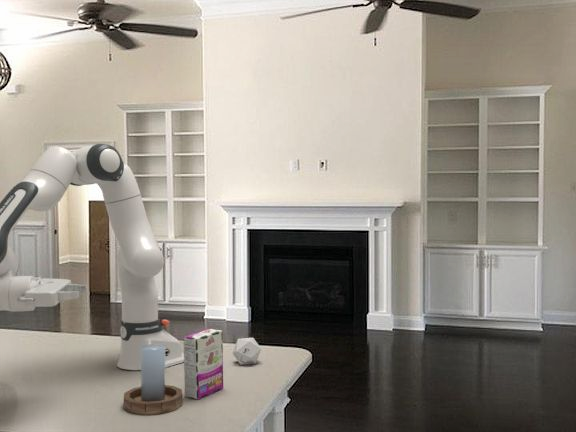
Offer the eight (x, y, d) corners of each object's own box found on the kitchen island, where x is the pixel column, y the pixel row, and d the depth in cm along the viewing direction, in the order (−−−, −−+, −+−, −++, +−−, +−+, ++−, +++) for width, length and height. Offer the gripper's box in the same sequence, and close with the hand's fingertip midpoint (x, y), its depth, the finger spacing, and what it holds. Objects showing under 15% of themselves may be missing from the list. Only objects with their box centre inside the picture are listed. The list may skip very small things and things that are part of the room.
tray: (163, 391, 173) (163, 381, 172) (193, 405, 162) (193, 394, 161) (113, 403, 163) (113, 393, 162) (142, 419, 152) (142, 407, 152)
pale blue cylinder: (157, 395, 166) (157, 343, 166) (169, 401, 162) (169, 347, 161) (136, 401, 162) (136, 347, 162) (148, 406, 158) (148, 351, 157)
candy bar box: (209, 385, 178) (209, 328, 177) (223, 388, 175) (223, 330, 174) (183, 396, 168) (182, 335, 167) (197, 400, 165) (197, 338, 165)
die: (227, 365, 201) (232, 345, 195) (237, 346, 207) (242, 327, 202) (250, 375, 200) (256, 356, 194) (260, 356, 206) (266, 337, 200)
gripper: (13, 287, 149) (74, 285, 150) (36, 275, 169) (89, 273, 171) (14, 314, 149) (75, 312, 151) (36, 298, 169) (90, 296, 171)
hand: (82, 291), depth 161 cm, fingers open, 8 cm apart
